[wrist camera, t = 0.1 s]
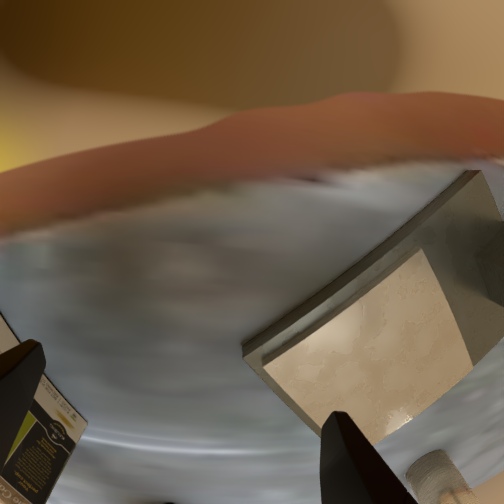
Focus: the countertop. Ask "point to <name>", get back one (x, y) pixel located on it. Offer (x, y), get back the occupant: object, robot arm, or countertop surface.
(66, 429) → the tea box
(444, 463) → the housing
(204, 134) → the countertop surface
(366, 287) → the arbor press
